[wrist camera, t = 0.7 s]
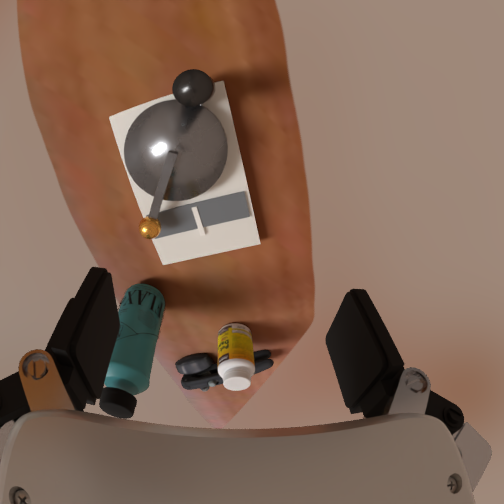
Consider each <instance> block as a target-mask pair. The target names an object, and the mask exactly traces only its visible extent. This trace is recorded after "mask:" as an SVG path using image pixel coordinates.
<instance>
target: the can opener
mask: <svg viewBox="0 0 504 504" xmlns="http://www.w3.org/2000/svg"><path fill="white" fill-rule="evenodd" d="M253 354H254V363H255V372H254V374H256V373H259V372H261V371H264V370H266V369H268V368H270V367H272V365H273V363H274V362H273V360H272V359H268V358H269V357H270V356H271V352H270V351H268V350H261V351H257V352H253ZM175 365H176V368H177V370H178V372H179V373H180V374H184V375H183V377H182V380H181V384H182V386H183V388H185V389H187V390H191V389H197V388H200V389H201V390H202V391H207V390H208V389H209V386H212V387H214V386H216V385H219V384H223V378H222V377H221V376H220V375H219V373H218V363H217V364H213V360H212V359H211V358H210V357H209V356H208V355H207V354H203V353H200V354H194V355H190V356H187V357H184V358H182V359H180V360H178V361H177V362H176V364H175ZM254 374H253V375H254Z"/></svg>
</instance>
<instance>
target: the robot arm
mask: <svg viewBox="0 0 504 504" xmlns="http://www.w3.org/2000/svg"><path fill="white" fill-rule="evenodd" d="M119 329H120V320H119V315H118V310H117V305H116V299H115V294H114V288H113V282H112V276H111V273H108V272H107V270H106V269H105V268H98V267H92V268H91V269H90V271H89V272H88V274H87V276H86V278H85V279H84V281H83V283H82V285H81V287H80V289H79V290H78V292H77V294H76V296H75V298H71V299H70V300H69V302H68V304H67V306H66V308H65V310H64V311H63V313H62V315H61V317H60V320H59V321H58V323H57V325H56V328H55V330H54V332H53V334H52V336H51V338H50V340H49V342H48V345H47V347H46V349H45V351H44V350H41V349H36V350H31V351H29V352H27V353H26V354H25V355H24V356H23V357H22V358H21V360H20V363H19V367H18V368H19V371H18V372H16V373H15V374H12V375H10V376H8V377H6V378H4V379H2V380H0V504H475V500H474V496H473V493H472V492H473V491H474V489H475V487H476V485H477V484H478V482H479V480H480V478H481V476H482V475H483V473H484V471H485V469H486V467H487V465H488V463H489V461H490V458H491V455H492V451H491V447H490V445H489V444H488V443H487V441H486V440H485V439H484V438H483V437H482V436H481V435H480V434H479V433H478V432H477V431H476V430H475V429H474V428H473V427H472V426H471V425H470V424H469V423H468V422H466V423H465V424H464V416H463V413H462V411H461V409H460V408H459V407H458V406H457V405H455V404H454V403H452V402H450V401H448V400H447V399H445V398H443V397H441V396H440V395H438V394H436V393H434V392H433V391H431V390H430V387H431V384H430V380H429V378H428V377H427V375H426V374H425V373H424V372H423V371H421V370H420V369H417V368H412V367H410V368H407V369H404V367H403V366H404V362H403V360H402V358H401V356H400V354H399V352H398V350H397V348H396V346H395V344H394V342H393V340H392V338H391V336H390V334H389V332H388V330H387V328H386V326H385V325H384V323H383V321H382V319H381V317H380V315H379V313H378V312H377V310H376V308H375V306H374V304H373V302H372V301H371V299H370V297H369V295H368V293H367V292H366V290H364V289H352V290H350V292H347V294H346V295H345V297H344V299H343V302H342V303H341V306H340V308H339V310H338V312H337V314H336V317H335V318H334V321H333V323H332V325H331V327H330V329H329V331H328V333H327V335H326V345H327V348H328V351H329V354H330V357H331V360H332V363H333V367H334V370H335V373H336V376H337V379H338V383H339V385H340V389H341V392H342V396H343V399H344V402H345V405H346V407H348V408H349V409H350V412H351V414H354V413H360V412H363V415H364V417H363V419H359V420H353V421H346V422H339V423H332V424H324V425H314V426H304V427H291V428H274V429H211V428H193V427H181V426H170V425H162V424H154V423H147V422H139V421H133V420H127V419H121V418H115V417H109V416H104V415H99V414H94V413H88V412H84V411H83V409H84V408H85V406H86V403H87V404H91V405H95V402H96V398H97V399H100V397H101V394H102V390H103V386H104V382H105V378H106V374H107V371H108V367H109V363H110V360H111V356H112V353H113V349H114V346H115V343H116V339H117V336H118V333H119Z"/></svg>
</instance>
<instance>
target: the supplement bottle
mask: <svg viewBox="0 0 504 504" xmlns="http://www.w3.org/2000/svg"><path fill="white" fill-rule="evenodd" d="M254 372H255V363H254V354H253V344H252V334H251V331H250V329H249V328H248V327H247V326H245V325H243V324H239V323H231V324H227V325H225V326H223V327H222V328H221V329H220V331H219V333H218V373H219V375H220V376H221V377H222V378H223V385H224V387H225V388H227V389H229V390H234V391H239V390H244V389H246V388H248V387H249V386H250V384H251V377H252V376H253V374H254Z"/></svg>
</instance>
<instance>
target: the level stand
mask: <svg viewBox="0 0 504 504" xmlns="http://www.w3.org/2000/svg"><path fill="white" fill-rule="evenodd" d="M173 99H175V97H174V95H173V94H171V95H168V96H165V97H162V98H159V99H156V100H153V101H150V102H147V103H144V104H141V105H139V106H136V107H133V108H131V109H128V110H125V111H123V112H120V113H118V114H115V115H113V116H111V117H109V119H110V122H111V125H112V129H113V132H114V135H115V139H116V142H117V145H118V148H119V151H120V154H121V157H122V160H123V163H124V166H125V169H126V172H127V175H128V178H129V180H130V183H131V186H132V189H133V192H134V194H135V197H136V200H137V202H138V205H139V208H140V210H141V213H142V215H143V218H145V217H147V216H149V213H150V209H151V205H152V202H153V198H154V197H153V196H151V195H150V194H148V193H146V192H145V191H144V190H142V189H141V188H140V187H139V186H138V185H137V184H136V183H135V182H134V180H133V179H132V177H131V176H130V174H129V172H128V170H127V167H126V164H125V158H124V143H125V139H126V135H127V133H128V130H129V128H130V126H131V124H132V123H133V122H134V120H135V119H136V118H137V117H138V116H139V115H140V114H141V113H142V112H143V111H144V110H145V109H147V108H149V107H150V106H152V105H154V104H156V103H159V102H162V101H167V100H173ZM203 106H205V107H207V108H208V109H209V110H211V111H212V112H213V113H214V114H215V115H216V116H217V118H218V119H219V120H220V122H221V124H222V125H223V127H224V130H225V133H226V137H227V143H228V153H227V160H226V164H225V167H224V170H223V172H222V174H221V176H220V177H219V179H218V180H217V181H216V183H215V184H214V185H213V186H212V187H211V188H210V189H208V190H207V191H206V192H204V193H203V194H201V195H199V196H197V197H195V198H192V199H188V200H184V201H167V200H163V201H162V205H161V208H160V211H159V215H158V218H157V219H158V220H159V221H160V223H161V231H160V234H159V235H158V236H157V237H156V238H153V239H152V240H153V243H154V245H155V247H156V250H157V252H158V255H159V257H160V259H161V261H162V264H163V265H166V264H171V263H175V262H180V261H184V260H189V259H193V258H198V257H203V256H207V255H212V254H216V253H221V252H226V251H230V250H235V249H240V248H244V247H249V246H253V245H258V244H260V239H259V234H258V230H257V225H256V221H255V216H254V212H253V207H252V203H251V198H250V194H249V189H248V185H247V180H246V176H245V172H244V167H243V163H242V158H241V154H240V150H239V145H238V141H237V136H236V132H235V128H234V123H233V119H232V115H231V111H230V106H229V102H228V98H227V93H226V89H225V85H224V81H220V82H215V93H214V95H213V96H212V98H211V99H210V100H208V101H207V102H205V103H204V104H203Z"/></svg>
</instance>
